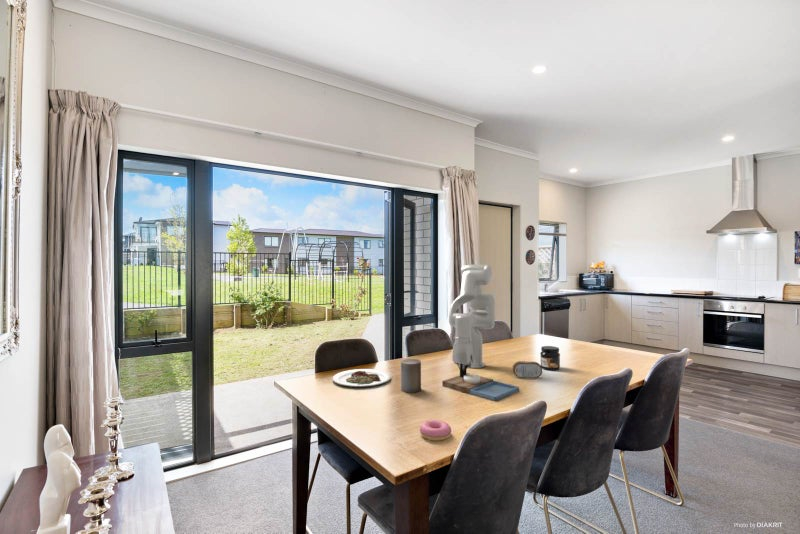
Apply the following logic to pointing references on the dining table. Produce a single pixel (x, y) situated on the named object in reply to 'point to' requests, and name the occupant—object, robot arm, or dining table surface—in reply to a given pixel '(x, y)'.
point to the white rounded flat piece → (472, 379)
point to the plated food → (361, 377)
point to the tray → (494, 390)
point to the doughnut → (435, 430)
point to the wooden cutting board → (463, 383)
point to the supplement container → (550, 358)
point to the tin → (527, 369)
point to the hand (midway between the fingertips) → (463, 376)
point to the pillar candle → (411, 375)
